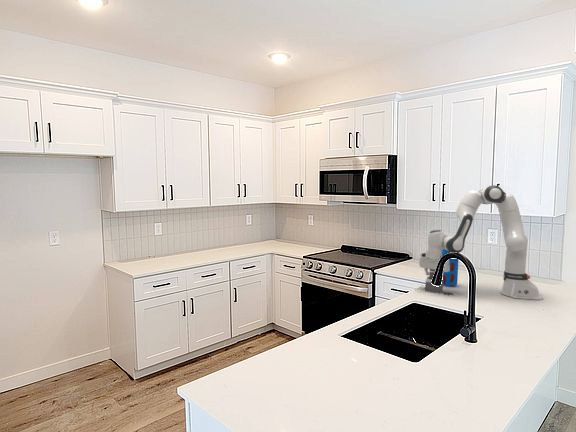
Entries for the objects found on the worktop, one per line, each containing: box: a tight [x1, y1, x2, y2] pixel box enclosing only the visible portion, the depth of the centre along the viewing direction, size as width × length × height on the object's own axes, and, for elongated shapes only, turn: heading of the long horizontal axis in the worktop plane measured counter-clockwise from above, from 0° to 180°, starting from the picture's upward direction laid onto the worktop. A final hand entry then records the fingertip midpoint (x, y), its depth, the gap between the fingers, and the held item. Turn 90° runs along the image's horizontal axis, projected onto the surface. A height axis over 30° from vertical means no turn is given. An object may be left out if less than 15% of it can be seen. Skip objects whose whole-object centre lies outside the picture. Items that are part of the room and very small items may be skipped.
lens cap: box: [443, 291, 454, 296], centre depth 245 cm, size 6×6×1 cm
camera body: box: [424, 275, 444, 294], centre depth 253 cm, size 10×9×8 cm
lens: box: [428, 269, 435, 279], centre depth 252 cm, size 5×5×8 cm
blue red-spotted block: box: [442, 249, 459, 288], centre depth 267 cm, size 11×11×25 cm
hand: (433, 276), depth 253 cm, fingers open, 8 cm apart
